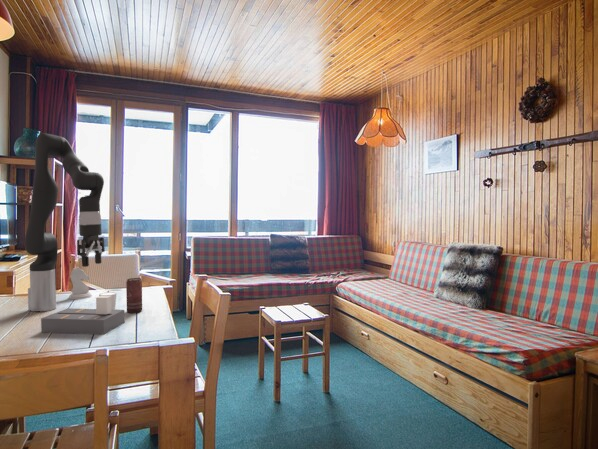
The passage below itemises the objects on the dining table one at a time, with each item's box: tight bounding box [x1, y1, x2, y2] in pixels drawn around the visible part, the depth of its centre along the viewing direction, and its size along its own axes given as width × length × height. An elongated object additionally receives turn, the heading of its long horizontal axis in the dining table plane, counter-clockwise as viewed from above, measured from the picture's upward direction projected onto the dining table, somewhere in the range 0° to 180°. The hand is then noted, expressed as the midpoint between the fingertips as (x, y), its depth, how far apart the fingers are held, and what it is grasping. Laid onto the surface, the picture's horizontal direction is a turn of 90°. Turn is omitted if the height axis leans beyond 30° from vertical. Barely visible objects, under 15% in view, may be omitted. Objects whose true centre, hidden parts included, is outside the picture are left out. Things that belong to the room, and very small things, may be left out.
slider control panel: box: [40, 307, 125, 335], centre depth 145 cm, size 23×14×5 cm, turn 86°
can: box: [125, 277, 143, 314], centre depth 167 cm, size 6×6×14 cm
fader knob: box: [95, 295, 111, 315], centre depth 144 cm, size 4×3×8 cm
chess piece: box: [68, 266, 93, 300], centre depth 194 cm, size 10×10×15 cm
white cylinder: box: [98, 291, 117, 310], centre depth 170 cm, size 7×7×7 cm
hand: (92, 265), depth 153 cm, fingers open, 8 cm apart
